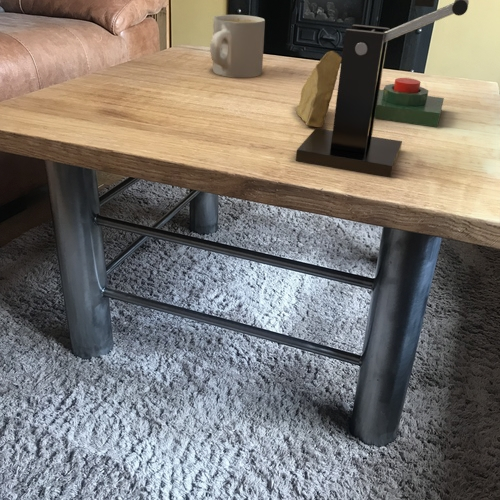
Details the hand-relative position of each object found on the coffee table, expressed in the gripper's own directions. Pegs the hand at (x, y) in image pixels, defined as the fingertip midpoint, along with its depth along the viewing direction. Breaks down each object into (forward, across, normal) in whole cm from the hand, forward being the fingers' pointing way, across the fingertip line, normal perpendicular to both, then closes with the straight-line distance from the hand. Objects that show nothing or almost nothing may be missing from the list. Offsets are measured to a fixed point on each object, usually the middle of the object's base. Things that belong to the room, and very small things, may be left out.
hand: (424, 5), depth 84 cm
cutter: (+17, +23, -4) cm, 29 cm away
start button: (+13, -1, 0) cm, 13 cm away
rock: (+17, +10, -14) cm, 23 cm away
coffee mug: (+16, -12, -36) cm, 41 cm away
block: (+17, -1, 0) cm, 17 cm away
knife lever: (+1, +23, +1) cm, 23 cm away
